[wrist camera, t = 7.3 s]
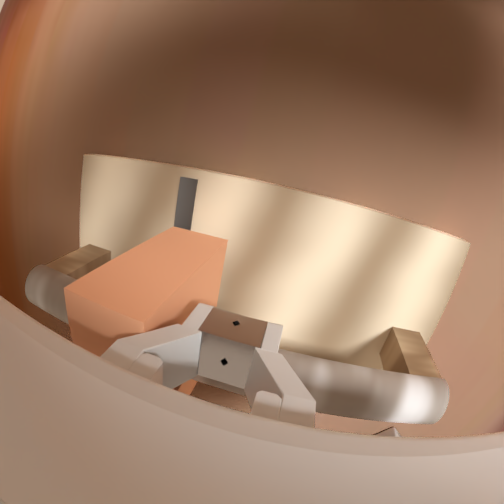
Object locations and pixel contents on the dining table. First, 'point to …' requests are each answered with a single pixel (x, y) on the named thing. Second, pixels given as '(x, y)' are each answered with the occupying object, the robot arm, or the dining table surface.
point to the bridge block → (146, 290)
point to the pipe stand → (288, 276)
